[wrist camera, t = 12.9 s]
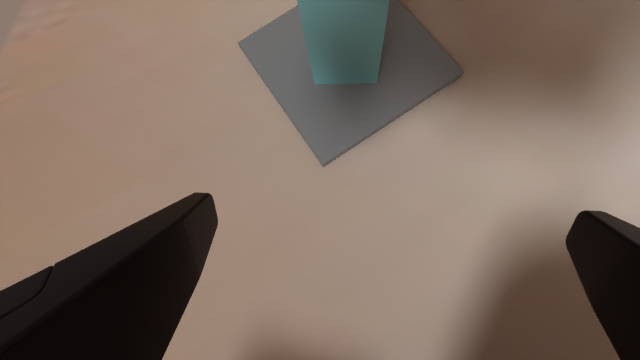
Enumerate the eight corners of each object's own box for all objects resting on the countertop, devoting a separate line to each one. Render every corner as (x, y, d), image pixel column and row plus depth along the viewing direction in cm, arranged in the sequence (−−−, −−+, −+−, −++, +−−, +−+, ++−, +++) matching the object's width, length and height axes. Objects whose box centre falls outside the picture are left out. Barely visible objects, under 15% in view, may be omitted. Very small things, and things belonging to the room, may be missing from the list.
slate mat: (461, 76, 23) (464, 71, 23) (323, 167, 23) (322, 164, 22) (364, -31, 26) (365, -37, 26) (240, 47, 26) (237, 42, 25)
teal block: (376, 83, 23) (396, -43, 13) (314, 84, 24) (289, -37, 14) (376, 28, 24) (394, -124, 14) (316, 31, 25) (295, -117, 15)
